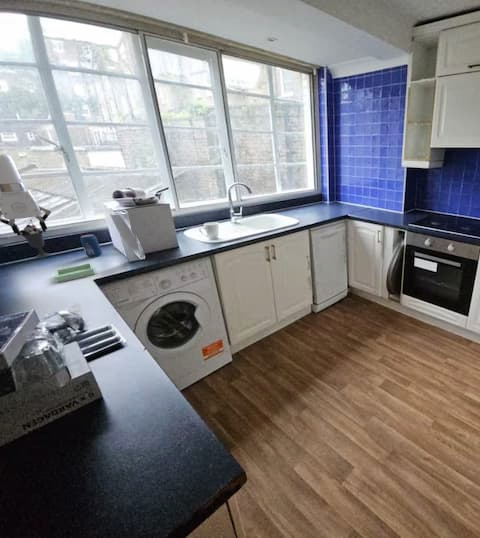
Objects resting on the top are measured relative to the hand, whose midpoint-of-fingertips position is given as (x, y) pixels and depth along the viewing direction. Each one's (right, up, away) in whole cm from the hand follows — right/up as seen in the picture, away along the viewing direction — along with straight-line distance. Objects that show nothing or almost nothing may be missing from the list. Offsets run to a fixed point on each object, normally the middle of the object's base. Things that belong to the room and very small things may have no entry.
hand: (32, 232), depth 120 cm
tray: (-5, -18, +24) cm, 30 cm away
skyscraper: (+11, -10, +41) cm, 44 cm away
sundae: (0, -9, +4) cm, 10 cm away
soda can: (-19, -7, +50) cm, 54 cm away
